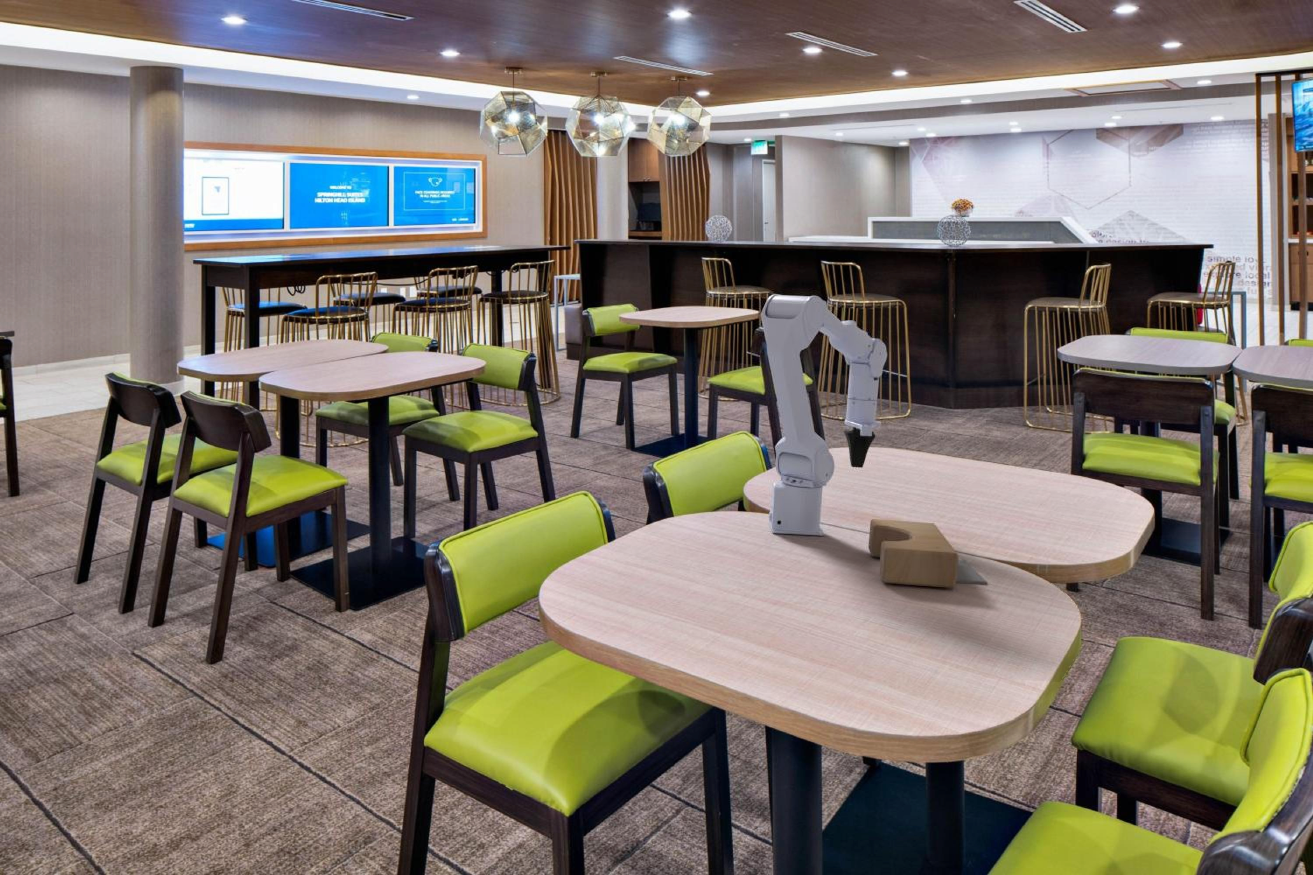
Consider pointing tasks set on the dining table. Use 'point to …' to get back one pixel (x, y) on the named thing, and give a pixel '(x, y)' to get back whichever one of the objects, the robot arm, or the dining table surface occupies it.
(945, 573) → the decorative block
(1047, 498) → the dining table surface
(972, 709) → the dining table surface
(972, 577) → the grey flat plate
